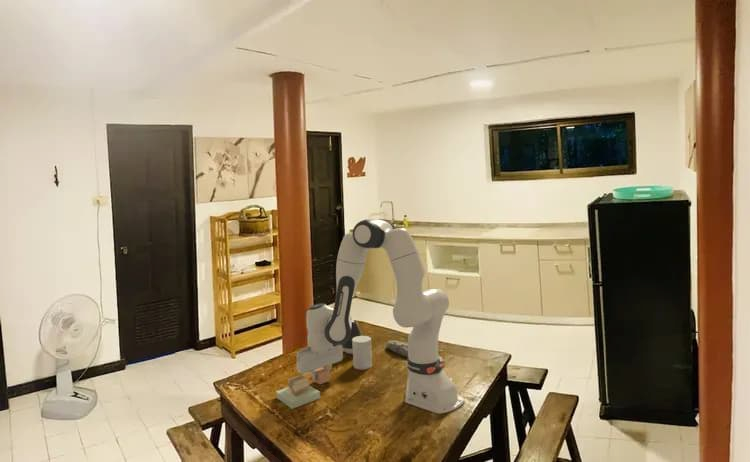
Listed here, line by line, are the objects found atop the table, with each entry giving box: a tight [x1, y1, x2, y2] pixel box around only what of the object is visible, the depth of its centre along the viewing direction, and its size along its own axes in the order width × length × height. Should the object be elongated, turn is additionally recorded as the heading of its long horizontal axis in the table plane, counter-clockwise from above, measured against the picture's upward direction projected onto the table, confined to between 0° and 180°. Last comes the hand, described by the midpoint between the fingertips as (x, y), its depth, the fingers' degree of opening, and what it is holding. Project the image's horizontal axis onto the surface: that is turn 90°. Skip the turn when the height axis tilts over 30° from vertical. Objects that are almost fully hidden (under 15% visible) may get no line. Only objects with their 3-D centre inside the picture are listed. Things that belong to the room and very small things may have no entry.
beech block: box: [287, 374, 309, 397], centre depth 181 cm, size 6×6×5 cm
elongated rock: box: [385, 339, 446, 367], centre depth 218 cm, size 35×5×10 cm
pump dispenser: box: [340, 320, 363, 355], centre depth 225 cm, size 10×10×15 cm
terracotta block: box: [313, 367, 330, 385], centre depth 195 cm, size 4×4×4 cm
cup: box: [352, 335, 373, 370], centre depth 209 cm, size 8×8×12 cm
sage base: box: [275, 384, 321, 410], centre depth 182 cm, size 12×12×3 cm
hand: (321, 377), depth 195 cm, fingers closed on terracotta block, 4 cm apart
